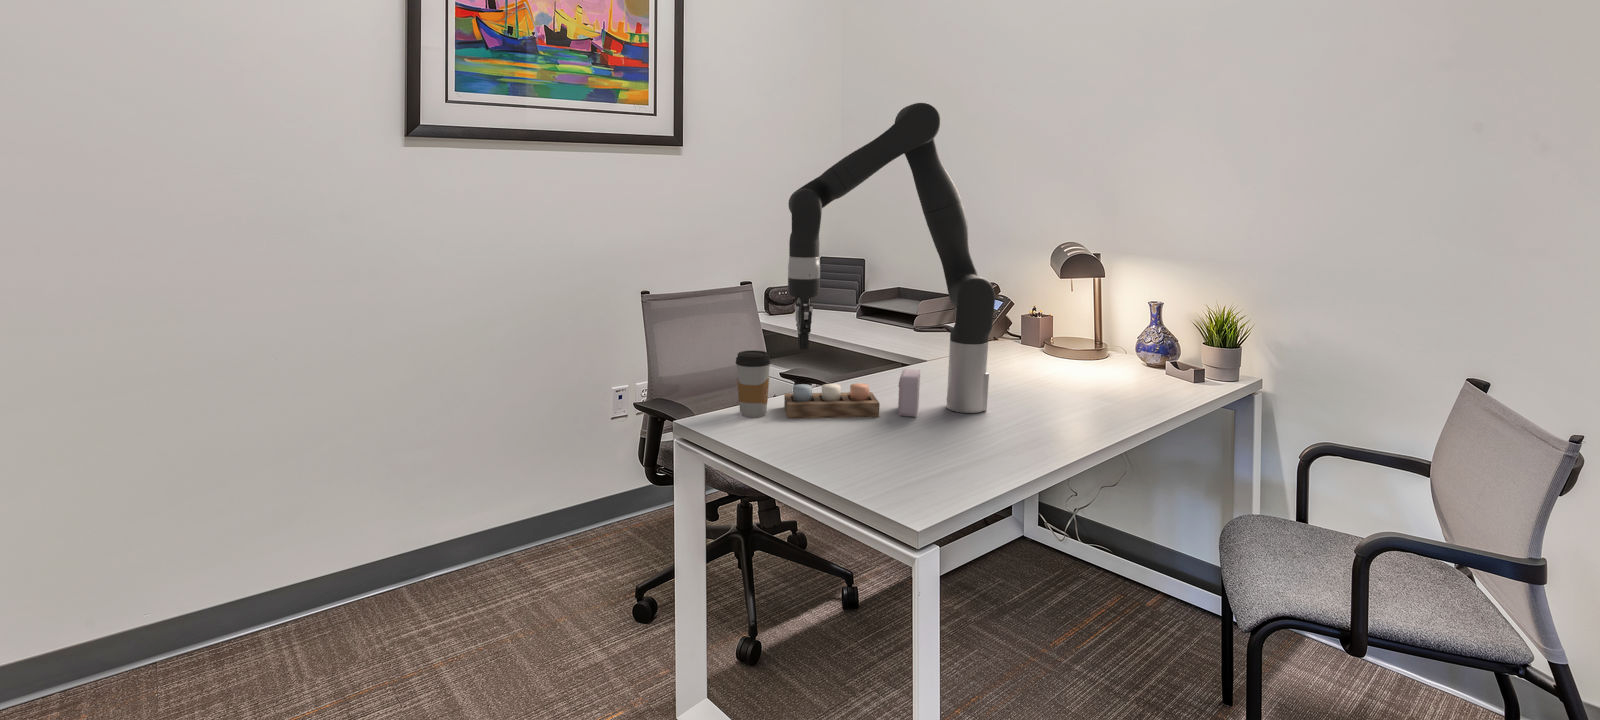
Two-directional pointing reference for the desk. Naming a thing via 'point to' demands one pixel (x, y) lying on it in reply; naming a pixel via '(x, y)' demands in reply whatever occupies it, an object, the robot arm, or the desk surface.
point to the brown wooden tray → (831, 407)
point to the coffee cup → (753, 382)
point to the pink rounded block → (859, 392)
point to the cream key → (831, 392)
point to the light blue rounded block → (802, 392)
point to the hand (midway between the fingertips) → (803, 347)
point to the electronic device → (909, 392)
